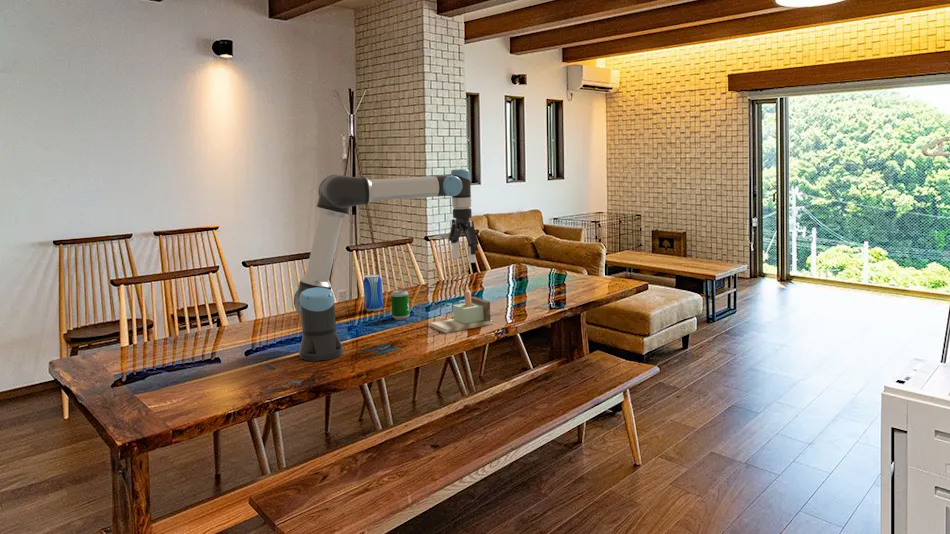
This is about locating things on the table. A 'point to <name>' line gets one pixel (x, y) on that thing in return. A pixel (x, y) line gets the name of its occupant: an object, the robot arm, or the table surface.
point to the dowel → (467, 298)
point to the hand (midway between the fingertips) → (463, 260)
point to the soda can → (400, 304)
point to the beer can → (373, 293)
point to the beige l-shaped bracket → (455, 325)
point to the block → (468, 313)
